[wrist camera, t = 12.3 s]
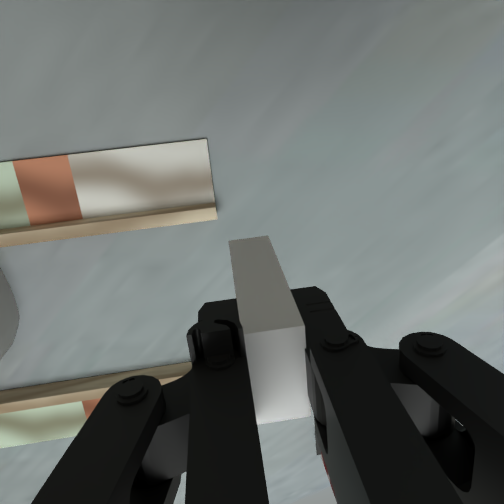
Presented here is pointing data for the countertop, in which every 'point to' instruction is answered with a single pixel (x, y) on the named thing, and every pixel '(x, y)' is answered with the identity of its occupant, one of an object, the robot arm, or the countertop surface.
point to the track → (87, 224)
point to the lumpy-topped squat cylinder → (7, 316)
